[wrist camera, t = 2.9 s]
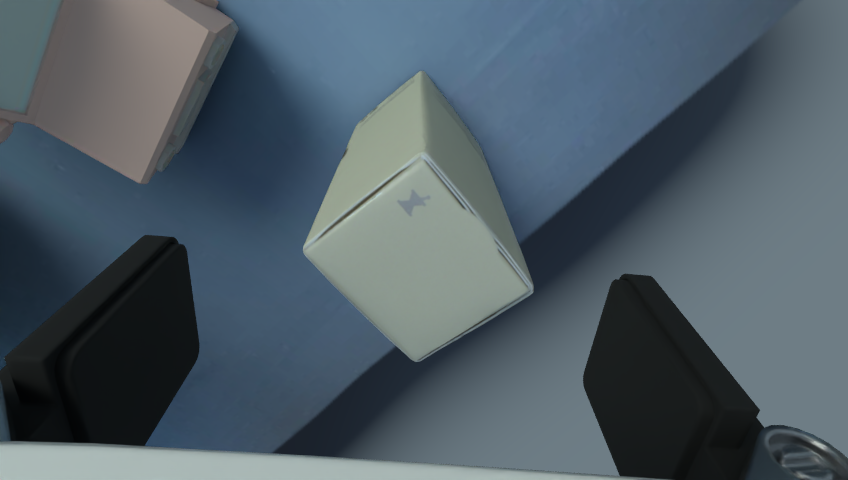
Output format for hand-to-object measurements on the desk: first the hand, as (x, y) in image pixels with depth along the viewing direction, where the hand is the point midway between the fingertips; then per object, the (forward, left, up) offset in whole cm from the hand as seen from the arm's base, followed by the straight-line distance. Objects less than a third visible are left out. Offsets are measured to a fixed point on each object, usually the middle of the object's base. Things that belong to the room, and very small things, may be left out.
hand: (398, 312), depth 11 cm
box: (0, 0, -15) cm, 15 cm away
